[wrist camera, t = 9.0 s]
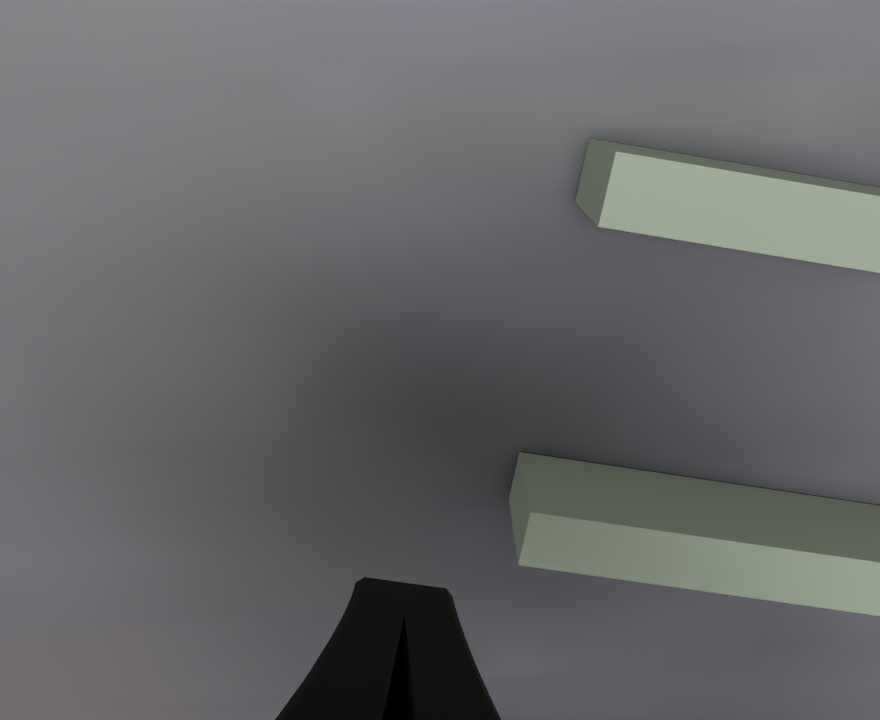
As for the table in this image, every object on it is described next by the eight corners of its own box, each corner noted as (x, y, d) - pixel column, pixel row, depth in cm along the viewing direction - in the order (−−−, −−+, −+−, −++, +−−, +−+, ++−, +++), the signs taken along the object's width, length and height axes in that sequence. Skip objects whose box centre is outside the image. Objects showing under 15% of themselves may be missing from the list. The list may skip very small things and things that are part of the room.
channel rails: (887, 554, 22) (952, 626, 19) (508, 499, 21) (518, 565, 18) (1037, 214, 18) (1144, 240, 16) (589, 138, 18) (616, 151, 15)
